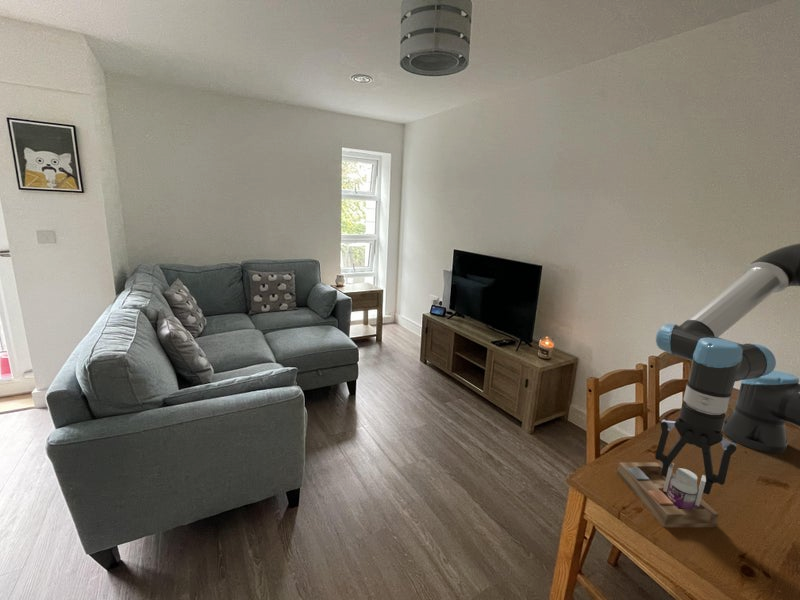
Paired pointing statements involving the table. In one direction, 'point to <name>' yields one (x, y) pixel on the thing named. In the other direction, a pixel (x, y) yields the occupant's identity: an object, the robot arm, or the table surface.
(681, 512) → the socket block
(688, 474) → the pill bottle
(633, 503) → the table surface
